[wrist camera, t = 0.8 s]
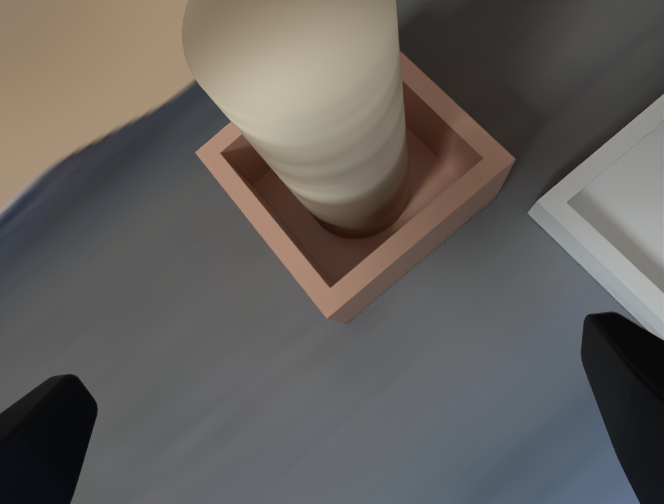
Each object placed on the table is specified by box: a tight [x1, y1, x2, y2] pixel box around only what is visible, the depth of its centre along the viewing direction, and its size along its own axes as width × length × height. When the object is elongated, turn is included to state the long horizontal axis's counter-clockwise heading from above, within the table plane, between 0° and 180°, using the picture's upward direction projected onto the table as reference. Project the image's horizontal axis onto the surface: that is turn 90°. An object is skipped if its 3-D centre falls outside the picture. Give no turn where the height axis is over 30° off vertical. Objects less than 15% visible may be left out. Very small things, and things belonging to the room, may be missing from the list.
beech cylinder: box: [182, 0, 410, 239], centre depth 16 cm, size 5×5×12 cm
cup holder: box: [195, 51, 515, 324], centre depth 20 cm, size 9×9×4 cm
